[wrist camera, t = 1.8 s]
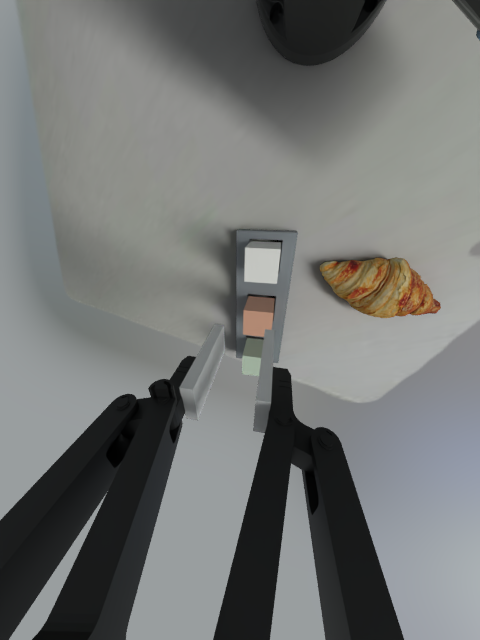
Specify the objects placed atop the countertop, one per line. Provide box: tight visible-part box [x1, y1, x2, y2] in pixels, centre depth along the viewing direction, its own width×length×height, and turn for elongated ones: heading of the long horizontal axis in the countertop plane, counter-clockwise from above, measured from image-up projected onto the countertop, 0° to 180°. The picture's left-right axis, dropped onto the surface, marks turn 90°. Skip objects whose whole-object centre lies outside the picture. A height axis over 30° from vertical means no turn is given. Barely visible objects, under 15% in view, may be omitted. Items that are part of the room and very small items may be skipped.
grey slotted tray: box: [236, 229, 298, 363], centre depth 40 cm, size 28×10×2 cm, turn 179°
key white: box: [244, 241, 281, 284], centre depth 31 cm, size 5×5×6 cm
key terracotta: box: [243, 296, 275, 337], centre depth 36 cm, size 5×5×6 cm
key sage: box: [242, 338, 264, 376], centre depth 41 cm, size 5×5×6 cm
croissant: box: [320, 258, 441, 318], centre depth 33 cm, size 21×10×8 cm, turn 74°
